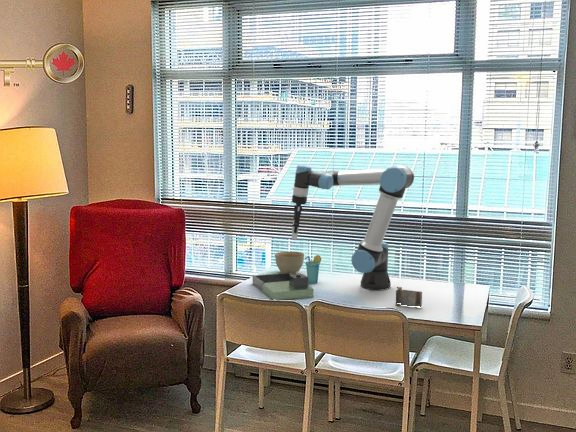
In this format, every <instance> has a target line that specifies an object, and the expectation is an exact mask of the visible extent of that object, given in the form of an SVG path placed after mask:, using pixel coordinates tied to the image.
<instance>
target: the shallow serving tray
mask: <svg viewBox="0 0 576 432" xmlns="http://www.w3.org/2000/svg"><path fill="white" fill-rule="evenodd" d="M252 285H253V286H255V287H256V288H257V289H258V290H260V292H262V293H264V294H265V295H266V296H268V298H269V299H271V298H272V299H288V300H298V299H307V298H314V296H315V295H314V293H315V292H314V288H313V287H311V286H310V285H309V283H308V277H307V275H305V274H304V273H302V271H300V270H299V271H297V272H296V274H295V275H292V274H291V273H281V272H280V273H270V274H269V273H268V274H257V275H255V274H254V275H252ZM272 299H271V300H272Z"/></svg>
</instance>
